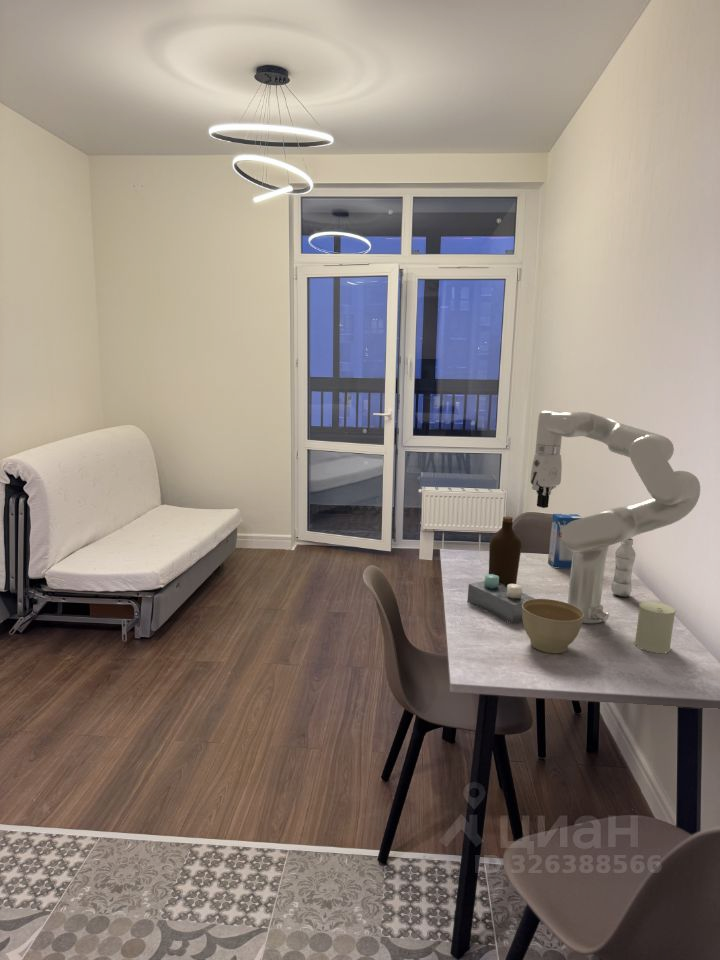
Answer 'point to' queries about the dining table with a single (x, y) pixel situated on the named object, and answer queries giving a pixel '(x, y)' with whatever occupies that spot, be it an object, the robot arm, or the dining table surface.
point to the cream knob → (514, 591)
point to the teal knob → (491, 581)
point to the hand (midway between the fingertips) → (542, 506)
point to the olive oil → (505, 553)
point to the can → (654, 626)
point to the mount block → (497, 601)
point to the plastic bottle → (623, 569)
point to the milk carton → (560, 541)
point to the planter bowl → (551, 624)
